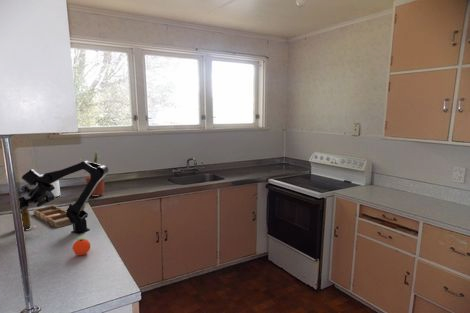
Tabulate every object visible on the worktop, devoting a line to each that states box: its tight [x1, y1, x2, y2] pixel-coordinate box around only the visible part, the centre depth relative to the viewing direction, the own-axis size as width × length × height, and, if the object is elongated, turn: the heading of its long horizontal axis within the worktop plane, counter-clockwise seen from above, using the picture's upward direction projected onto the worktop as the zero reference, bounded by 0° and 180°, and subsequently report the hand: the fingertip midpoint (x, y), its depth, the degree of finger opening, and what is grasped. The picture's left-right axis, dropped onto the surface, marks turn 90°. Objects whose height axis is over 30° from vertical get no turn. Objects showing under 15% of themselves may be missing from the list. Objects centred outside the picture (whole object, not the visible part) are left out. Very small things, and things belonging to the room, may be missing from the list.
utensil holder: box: [42, 173, 61, 196], centre depth 223 cm, size 15×15×18 cm
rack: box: [32, 204, 73, 229], centre depth 178 cm, size 37×12×3 cm, turn 50°
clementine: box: [72, 237, 91, 256], centre depth 129 cm, size 8×7×7 cm
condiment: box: [21, 206, 37, 232], centre depth 161 cm, size 7×8×12 cm
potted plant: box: [80, 150, 105, 196], centre depth 222 cm, size 17×16×35 cm
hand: (29, 208), depth 158 cm, fingers open, 9 cm apart
